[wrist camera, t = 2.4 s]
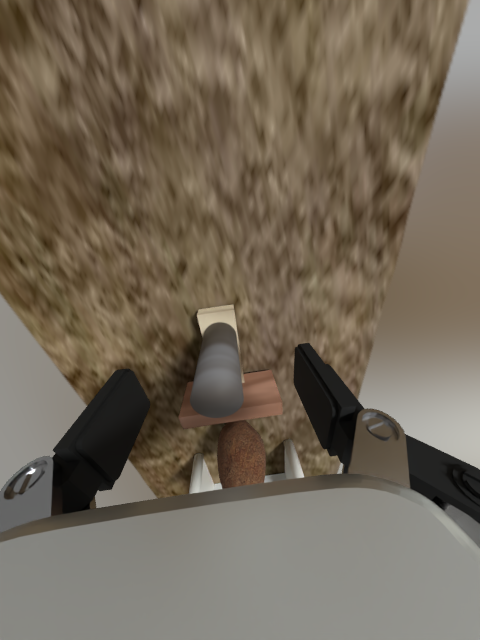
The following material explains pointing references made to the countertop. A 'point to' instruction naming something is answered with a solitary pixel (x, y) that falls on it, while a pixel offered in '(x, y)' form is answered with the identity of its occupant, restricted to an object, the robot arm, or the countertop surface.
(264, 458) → the coconut
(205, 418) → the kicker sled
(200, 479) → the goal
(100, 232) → the countertop surface
